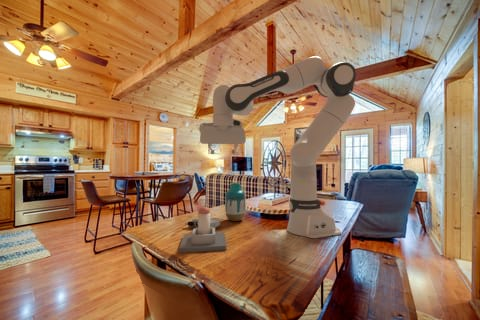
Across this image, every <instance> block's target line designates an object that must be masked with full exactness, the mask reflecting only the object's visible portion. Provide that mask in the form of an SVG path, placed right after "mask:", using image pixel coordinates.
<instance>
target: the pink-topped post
mask: <svg viewBox="0 0 480 320" xmlns="http://www.w3.org/2000/svg"><path fill="white" fill-rule="evenodd" d="M197 218H198V235H202V234H210V218H211V211H210V208H209V207H206V206H201V207H199V209H198V212H197Z"/></svg>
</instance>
